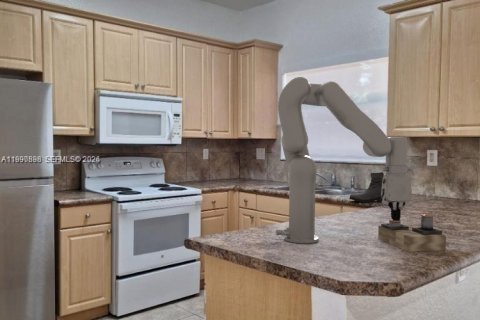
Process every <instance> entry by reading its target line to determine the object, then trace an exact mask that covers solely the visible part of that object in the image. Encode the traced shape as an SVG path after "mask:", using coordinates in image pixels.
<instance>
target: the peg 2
mask: <svg viewBox="0 0 480 320" xmlns="http://www.w3.org/2000/svg"><path fill="white" fill-rule="evenodd" d="M420 227H421V230H424V231H433V228H434V214H430V213H421V214H420Z"/></svg>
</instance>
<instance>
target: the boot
mask: <svg viewBox="0 0 480 320" xmlns="http://www.w3.org/2000/svg"><path fill="white" fill-rule="evenodd" d="M384 174H385V173H384V171H383V172H370V178H371V179H370V183H369V185H368V187H367V188H366V189H365V190H364V191H363V192H360V193H351V194H350V195H349V198H348V199H349V200H352V201H355V202H361V203H372V202H379V203H382V197H381V190H382V181H383V176H384ZM388 202H389V201H388Z"/></svg>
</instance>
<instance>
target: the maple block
mask: <svg viewBox="0 0 480 320" xmlns="http://www.w3.org/2000/svg"><path fill="white" fill-rule="evenodd" d="M377 231H378V232H377V233H378V235H377V239H378V240H380V241H383V242H385V243H386V244H387V243H388V244H390V245H392V246H395V247H396V248H399V249H402V250H403V251H406V252H409V253H410V252H429V251H430V252H431V251H436V252H437V251H446V250H447V249H446V247H447V236H446V235H445V234H443V230H440V229H437V228H434V227H433V231H424V230H421V226H416V225H414V224H413V225H412V224H401V226H393V227H392V226H389V222H388V223H380V225H378V230H377Z"/></svg>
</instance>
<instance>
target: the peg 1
mask: <svg viewBox="0 0 480 320" xmlns="http://www.w3.org/2000/svg"><path fill="white" fill-rule="evenodd" d="M401 221H402V220H401V219H400V221H398V220H397V221H395V220H392V219H391V218H390V219H389V221H388V223H389V226H392V227H393V226H401V223H402V222H401Z"/></svg>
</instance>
